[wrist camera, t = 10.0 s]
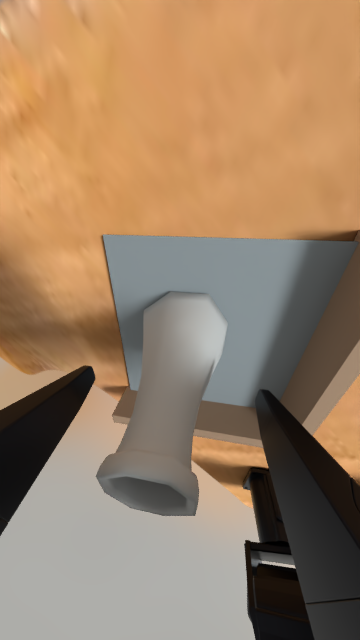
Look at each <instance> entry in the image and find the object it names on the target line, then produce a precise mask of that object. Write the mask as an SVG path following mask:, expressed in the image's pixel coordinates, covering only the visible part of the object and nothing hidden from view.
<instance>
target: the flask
mask: <svg viewBox="0 0 360 640" xmlns="http://www.w3.org/2000/svg"><path fill="white" fill-rule="evenodd" d="M227 326H228V323H227V321H226V319H225V318H224V316H223V315H222V313H221V312H220V310H219V309H218V307H217V305H216V304H215V302H214V301H213V299H212V298H211V296H210V295H209V294H199V293H184V292H170V293H168V294H167V295H165V296H164V297H162V298H161V299H159V300H158V301H156V302H155V303H154V304H152V305H151V306H149V307H148V308H146V309H145V310H144V316H143V355H142V373H141V379H140V384H139V388H138V393H137V397H136V401H135V406H134V410H133V414H132V416H131V419H130V421H129V424H128V426H127V429H126V431H125V434H124V436H123V439H122V441H121V444H120V445H119V447H118V449H117V451H116V453H114V454H110V455H109V456H107V457H106V458H105V460H104V461H103V463H102V464H101V466H100V468H99V470H98V472H97V475H96V477H97V479H98V481H99V483H100V485H101V487H102V488H103V490H104V492H105V493H106V494H108V495H110V496H111V497H113V498H115V499H116V500H118V501H120V502H122V503H123V504H125V505H127V506H128V507H130V508H133V509H137V510H141V511H146V512H150V513H154V514H159V515H162V516H195V514H196V510H197V505H198V497H199V487H198V480H197V477H196V475H195V474H194V473H193V472H192V471H191V453H192V440H193V433H194V429H195V424H196V420H197V415H198V411H199V406H200V403H201V400H202V398H203V395H204V393H205V391H206V388H207V386H208V383H209V381H210V378H211V376H212V374H213V372H214V370H215V368H216V366H217V363H218V361H219V359H220V357H221V355H222V352H223V348H224V342H225V337H226V331H227Z"/></svg>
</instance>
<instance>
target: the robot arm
mask: <svg viewBox="0 0 360 640" xmlns="http://www.w3.org/2000/svg"><path fill="white" fill-rule="evenodd" d="M94 381H95V374H94V371H93V368H92V367H91V366H82V367H80V368H78V369H76V370H75V371H73V372H71V373H69V374H67V375H66V376H63V377H62V378H60V379H58V380H56V381H54V382H52V383H50V384H49V385H47V386H45V387H43V388H41V389H39V390H37V391H36V392H34V393H32V394H30V395H28V396H26V397H25V398H23V399H21V400H19V401H17V402H15V403H13V404H11V405H10V406H8V407H6V408H4V409H2V410H0V536H1V534H2V532H3V531H4V529H5V528H6V526H7V524H8V522H9V521H10V519H11V518H12V516H13V515H14V513H15V511H16V510H17V508H18V507H19V505H20V504H21V502H22V500H23V499H24V497H25V496H26V494H27V492H28V490H29V489H30V488H31V486H32V484H33V483H34V481H35V480H36V478H37V476H38V475H39V473H40V471H41V470H42V469H43V467H44V465H45V464H46V462H47V461H48V459H49V457H50V456H51V454H52V453H53V451H54V449H55V448H56V446H57V445H58V443H59V442H60V440H61V438H62V437H63V435H64V434H65V432H66V430H67V429H68V427H69V426H70V424H71V422H72V421H73V419H74V418H75V416H76V414H77V413H78V411H79V410H80V408H81V406H82V404H83V402H84V400H85V399H86V397H87V395H88V393H89V391H90V389H91V387H92V385H93V383H94ZM255 406H256V413H257V419H258V425H259V431H260V436H261V441H262V445H263V448H264V452H265V456H266V460H267V463H268V467H269V471H266V470H260V469H255V468H252V469H250V471H249V473H248V475H247V476H246V478H245V480H244V482H243V488H244V489H247V490H250V491H251V497H252V502H253V508H254V513H255V518H256V524H257V530H258V536H259V541H260V543H257V542H251V541H249V540H245V542H246V543H245V544H244V545H245V557H246V570H247V607H248V616H249V618H250V620H251V622H252V625H253V629H254V634H255V639H256V640H360V486H359V485H358V484H357V482H356V481H355V480H354V479H353V478H351V477H350V476H349V474H348V473H347V472H346V471H345V470H344V469H343V468H342V467H341V466H340V465H339V464H338V462H337V461H336V460H335V459H334V458H333V457H332V456H331V455H330V454H329V453H328V452H327V451H326V450H325V449H324V448H323V447H322V446H321V444H320V443H319V442H318V441H317V440H316V439H315V438H314V437H313V436H312V435H311V434H310V433H309V432H308V431H307V430H306V429H305V428H304V427H303V425H302V424H301V423H300V422H299V421H298V420H297V419H296V418H295V417H294V416H293V415H292V414H291V413H290V412H289V411H288V410H287V409H286V407H285V406H284V405H283V404H282V403H281V402H280V401H279V400H278V399H277V398H276V397H275V396H274V395H273V394H272V393H271V392H270V391H269V390H267V389H259V391H258V393H257V396H256V398H255ZM261 560H262V561H269V562H276V563H283V564H290V565H295V567H296V569H295V568H288V567H282V566H275V565H268V564H262V562H261Z"/></svg>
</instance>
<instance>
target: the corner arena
mask: <svg viewBox="0 0 360 640" xmlns="http://www.w3.org/2000/svg"><path fill="white" fill-rule="evenodd" d="M103 239H104V244H105V250H106V255H107V261H108V267H109V272H110V278H111V283H112V289H113V294H114V300H115V305H116V311H117V317H118V322H119V328H120V333H121V339H122V344H123V350H124V356H125V361H126V367H127V372H128V378H129V383H130V387H129V386H127V388H126V390H125V392H124V393H123V395H122V397H121V399H120V401H119V403H118V405H117V407H116V409H115V410H114V412H113V414H112V417H113V420H114V422H116V423H122V424H129V421H130V419H131V416H132V414H133V410H134V406H135V401H136V397H137V393H138V388H139V384H140V379H141V373H142V355H143V316H144V310H145V309H146V308H148V307H149V306H151V305H152V304H154V303H155V302H156V301H158V300H159V299H161V298H162V297H164V296H165V295H167V294H168V293H170V292H184V293H199V294H209V295H210V296H211V298H212V299H213V301H214V302H215V304H216V305H217V307H218V309H219V310H220V312H221V313H222V315H223V316H224V318H225V319H226V321H227V323H228V326H227V331H226V337H225V342H224V348H223V352H222V355H221V357H220V359H219V361H218V363H217V366H216V368H215V370H214V372H213V374H212V376H211V378H210V381H209V383H208V386H207V388H206V391H205V393H204V395H203V398H202V400H201V403H200V406H199V411H198V415H197V420H196V424H195V429H194V433H193V436H197V437H203V438H209V439H215V440H221V441H226V442H232V443H238V444H244V445H250V446H255V447H261V448H263V445H262V441H261V436H260V431H259V425H258V419H257V413H256V406H255V398H256V396H257V393H258V391H259V389H267V390H269V391H270V392H271V393H272V394H273V395H274V396H275V397H276V398H277V399H278V400H279V401H280V402H281V403H282V404H283V405H284V406H285V407H286V409H287V410H288V411H289V412H290V413H291V414H292V415H293V416H294V417H295V418H296V419H297V420H298V421H299V422H300V423H301V424H302V425H303V427H304V428H305V429H306V430H307V431H308V432H309V433H310V434H311V435H313V434H314V433H315V431H316V430H317V429H318V427H319V426H320V425H321V424H322V422H323V421H324V420H325V418H326V417H327V416H328V415H329V413H330V412H331V411H332V409H333V408H334V407H335V405H336V404H337V403H338V402H339V400H340V399H341V398H342V396H343V395H344V394H345V392H346V391H347V390H348V389H349V387H350V386H351V385H352V383H353V382H354V381H355V379H356V378H357V377H358V376H359V374H360V230H359V231H358V233H357V235H356V237H355V239H354V241H318V240H281V239H244V238H207V237H170V236H133V235H103Z"/></svg>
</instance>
